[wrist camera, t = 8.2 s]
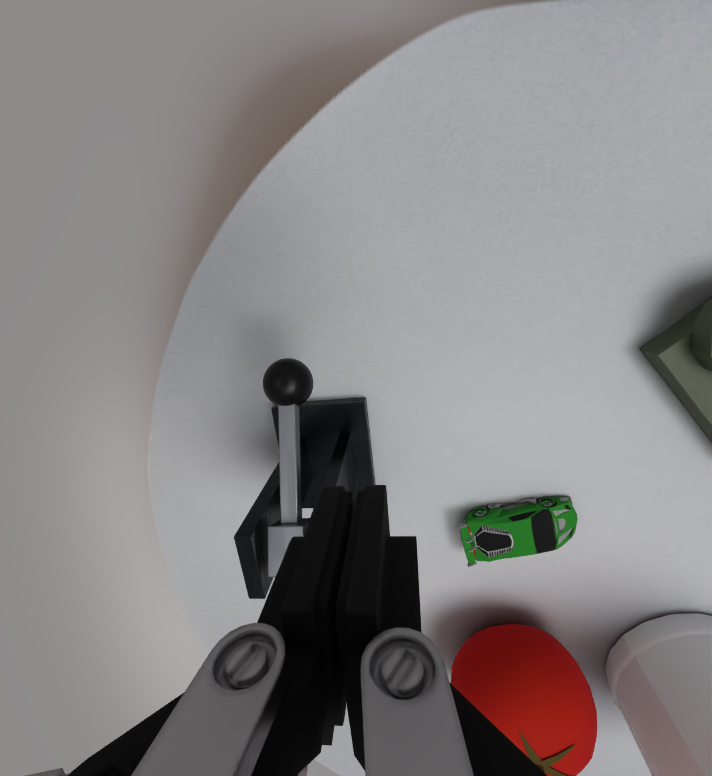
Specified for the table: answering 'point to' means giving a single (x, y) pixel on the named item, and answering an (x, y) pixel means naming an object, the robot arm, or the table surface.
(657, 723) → the bottle
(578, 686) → the tomato
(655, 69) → the table surface
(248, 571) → the bracket
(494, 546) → the toy car
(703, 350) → the button box
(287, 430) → the lever
